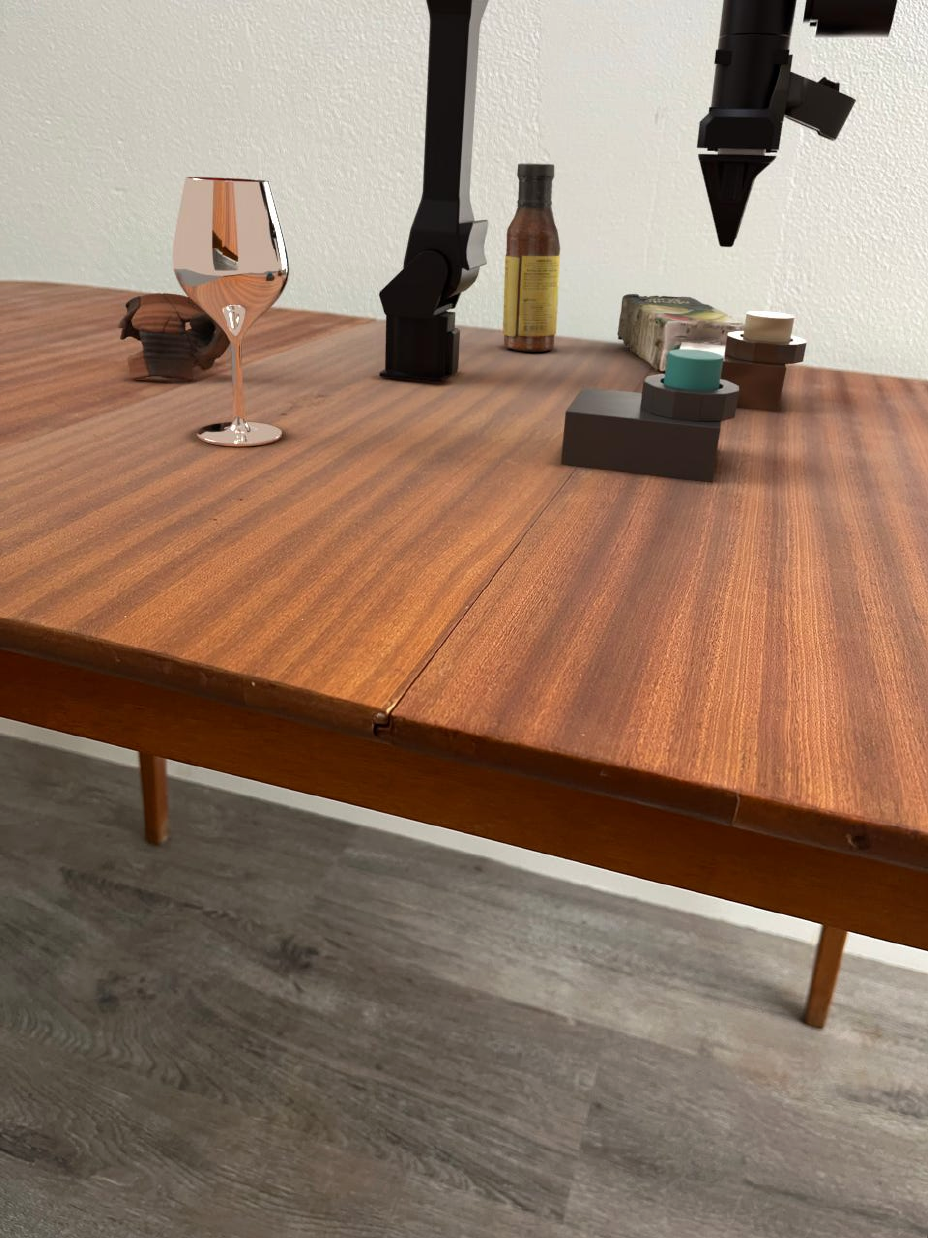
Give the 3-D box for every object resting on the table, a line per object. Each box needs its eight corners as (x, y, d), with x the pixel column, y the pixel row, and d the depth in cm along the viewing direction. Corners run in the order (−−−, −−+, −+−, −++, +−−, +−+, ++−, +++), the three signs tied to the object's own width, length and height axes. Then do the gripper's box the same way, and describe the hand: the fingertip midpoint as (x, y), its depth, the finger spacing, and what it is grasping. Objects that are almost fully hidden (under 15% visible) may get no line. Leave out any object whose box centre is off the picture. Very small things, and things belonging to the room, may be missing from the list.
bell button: (742, 343, 93) (746, 315, 92) (742, 336, 97) (746, 309, 96) (790, 347, 92) (795, 319, 91) (788, 340, 96) (793, 313, 95)
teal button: (661, 391, 72) (666, 356, 71) (665, 381, 75) (669, 347, 74) (717, 397, 71) (723, 361, 70) (718, 386, 74) (724, 352, 73)
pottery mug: (97, 383, 91) (94, 296, 92) (159, 410, 100) (156, 331, 101) (211, 362, 87) (207, 271, 88) (265, 391, 96) (261, 309, 97)
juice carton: (748, 376, 107) (757, 317, 105) (661, 375, 106) (668, 315, 103) (688, 345, 125) (695, 294, 123) (613, 343, 124) (618, 292, 121)
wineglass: (312, 430, 78) (308, 182, 71) (260, 455, 71) (250, 183, 64) (221, 417, 81) (208, 175, 73) (163, 440, 74) (141, 175, 66)
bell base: (670, 400, 95) (679, 336, 92) (675, 382, 103) (684, 323, 100) (796, 413, 93) (809, 348, 90) (791, 394, 100) (803, 333, 98)
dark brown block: (560, 464, 73) (568, 383, 71) (577, 435, 81) (585, 361, 79) (725, 484, 71) (739, 400, 68) (726, 452, 79) (739, 376, 76)
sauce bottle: (563, 349, 117) (580, 165, 109) (538, 355, 113) (554, 164, 104) (515, 341, 121) (528, 162, 112) (489, 347, 116) (500, 160, 107)
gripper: (870, 22, 70) (830, 255, 77) (850, 50, 87) (819, 240, 93) (710, 23, 73) (684, 248, 80) (720, 50, 89) (698, 235, 96)
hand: (728, 242), depth 87 cm, fingers open, 9 cm apart
